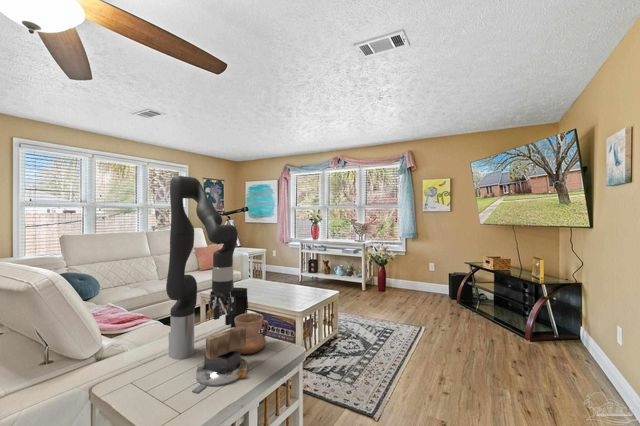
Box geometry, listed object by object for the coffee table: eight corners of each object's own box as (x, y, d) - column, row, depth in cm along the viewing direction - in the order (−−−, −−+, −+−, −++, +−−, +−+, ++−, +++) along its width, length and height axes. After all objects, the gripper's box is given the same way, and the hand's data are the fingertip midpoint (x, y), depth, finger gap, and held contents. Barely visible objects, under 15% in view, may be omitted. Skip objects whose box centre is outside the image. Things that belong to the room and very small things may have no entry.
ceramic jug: (236, 362, 120) (236, 326, 120) (224, 349, 131) (224, 316, 131) (276, 350, 130) (276, 317, 131) (261, 338, 142) (261, 308, 142)
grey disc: (185, 378, 107) (185, 358, 107) (221, 356, 123) (221, 339, 124) (226, 392, 99) (226, 370, 99) (259, 367, 115) (260, 348, 115)
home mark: (192, 392, 99) (192, 390, 99) (201, 385, 103) (201, 384, 103) (197, 393, 98) (197, 392, 98) (206, 387, 102) (206, 385, 102)
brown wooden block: (241, 326, 120) (205, 337, 108) (245, 327, 118) (209, 339, 106) (241, 343, 119) (205, 356, 108) (245, 345, 117) (209, 359, 106)
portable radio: (250, 332, 149) (250, 282, 149) (244, 337, 143) (244, 285, 143) (235, 331, 151) (235, 281, 151) (229, 336, 145) (229, 284, 145)
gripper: (242, 279, 110) (241, 324, 109) (221, 274, 119) (221, 314, 119) (223, 283, 104) (223, 329, 104) (203, 277, 113) (203, 319, 113)
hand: (222, 321), depth 111 cm, fingers open, 8 cm apart
